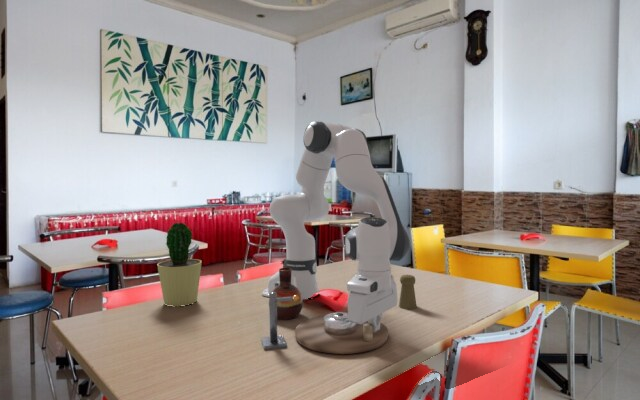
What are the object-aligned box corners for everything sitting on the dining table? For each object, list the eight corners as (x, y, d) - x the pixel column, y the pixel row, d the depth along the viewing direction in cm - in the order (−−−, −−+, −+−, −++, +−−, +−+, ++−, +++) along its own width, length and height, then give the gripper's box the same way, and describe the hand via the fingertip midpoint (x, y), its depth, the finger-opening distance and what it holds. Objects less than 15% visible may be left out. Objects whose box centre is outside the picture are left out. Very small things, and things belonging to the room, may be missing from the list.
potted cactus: (166, 312, 138) (164, 224, 137) (152, 302, 150) (150, 221, 149) (209, 303, 148) (207, 221, 147) (192, 294, 160) (190, 218, 159)
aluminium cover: (317, 329, 115) (317, 313, 115) (340, 322, 121) (340, 307, 120) (339, 338, 108) (339, 321, 108) (362, 330, 114) (362, 314, 114)
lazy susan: (277, 332, 117) (277, 313, 117) (344, 313, 133) (344, 296, 133) (336, 363, 97) (336, 340, 96) (407, 336, 113) (407, 316, 112)
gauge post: (264, 349, 106) (263, 296, 105) (261, 341, 112) (260, 290, 111) (301, 345, 109) (300, 293, 108) (296, 337, 114) (296, 287, 114)
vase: (309, 313, 135) (308, 267, 134) (290, 323, 125) (289, 274, 125) (282, 308, 141) (281, 264, 140) (261, 318, 131) (261, 270, 130)
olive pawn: (417, 309, 138) (416, 277, 137) (398, 308, 139) (398, 276, 138) (416, 304, 144) (416, 273, 143) (399, 303, 145) (398, 273, 144)
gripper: (382, 270, 118) (383, 317, 118) (343, 285, 102) (343, 340, 102) (402, 273, 114) (403, 322, 114) (364, 289, 98) (365, 345, 98)
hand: (375, 330), depth 108 cm, fingers closed
